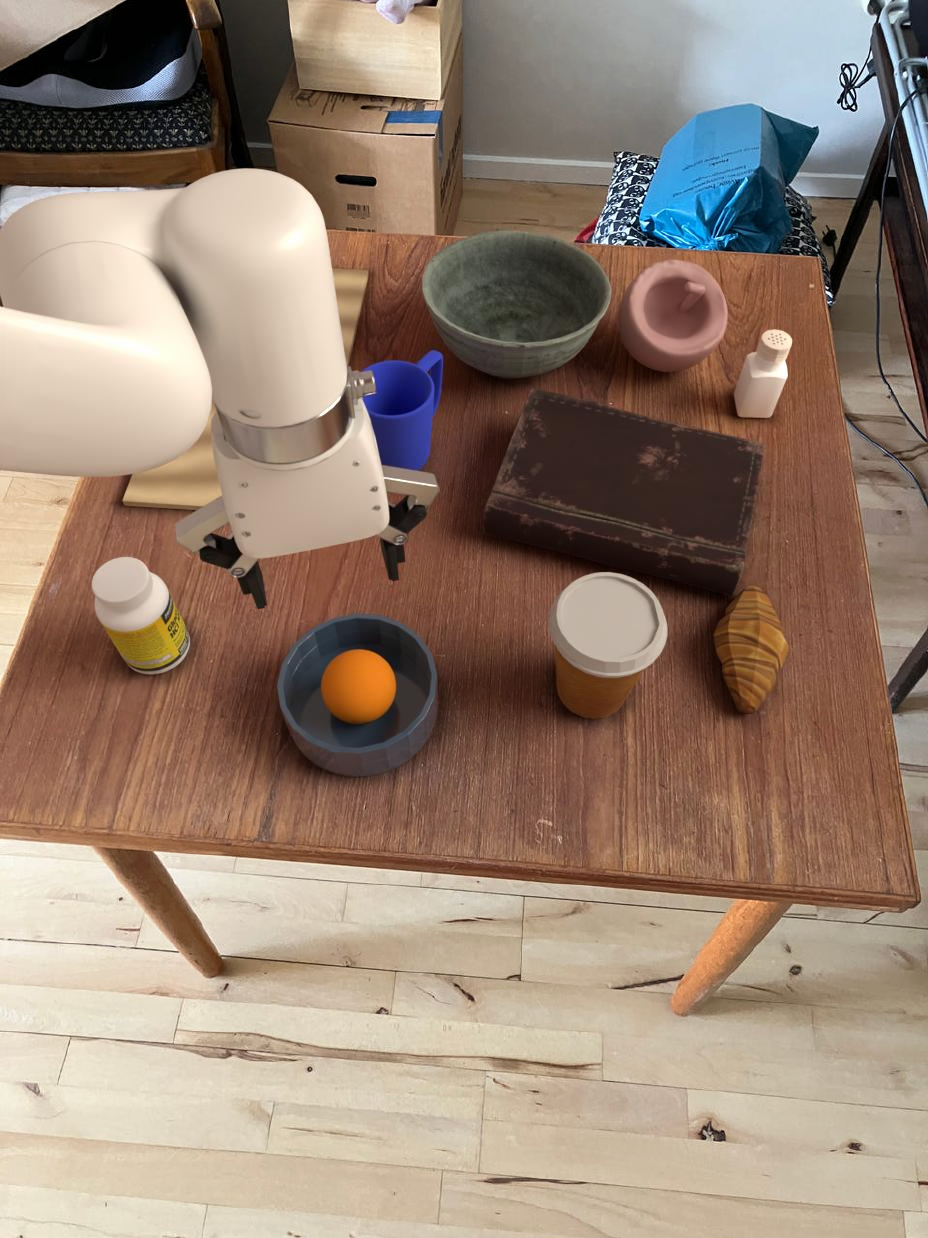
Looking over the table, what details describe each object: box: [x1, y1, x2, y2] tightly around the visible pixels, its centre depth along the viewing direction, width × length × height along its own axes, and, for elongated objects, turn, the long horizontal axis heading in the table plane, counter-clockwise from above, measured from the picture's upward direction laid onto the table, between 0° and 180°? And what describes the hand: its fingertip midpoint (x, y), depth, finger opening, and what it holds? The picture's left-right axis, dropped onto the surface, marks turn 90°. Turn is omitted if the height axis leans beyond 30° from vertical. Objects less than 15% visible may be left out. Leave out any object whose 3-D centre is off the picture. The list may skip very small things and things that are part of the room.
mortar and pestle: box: [617, 258, 729, 373], centre depth 99 cm, size 12×12×12 cm
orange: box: [321, 649, 396, 724], centre depth 75 cm, size 6×6×6 cm
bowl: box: [421, 230, 612, 380], centre depth 100 cm, size 21×21×10 cm
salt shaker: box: [733, 328, 793, 419], centre depth 95 cm, size 4×4×10 cm
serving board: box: [122, 267, 369, 511], centre depth 101 cm, size 40×20×1 cm, turn 175°
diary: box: [481, 387, 766, 597], centre depth 90 cm, size 19×25×5 cm
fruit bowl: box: [276, 613, 439, 778], centre depth 77 cm, size 13×13×5 cm
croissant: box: [713, 585, 790, 715], centre depth 80 cm, size 14×7×5 cm, turn 168°
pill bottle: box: [91, 556, 191, 675], centre depth 77 cm, size 6×6×11 cm
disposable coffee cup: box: [548, 571, 668, 720], centre depth 75 cm, size 10×10×12 cm
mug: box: [360, 349, 444, 471], centre depth 92 cm, size 8×12×10 cm
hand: (325, 579), depth 64 cm, fingers open, 9 cm apart
